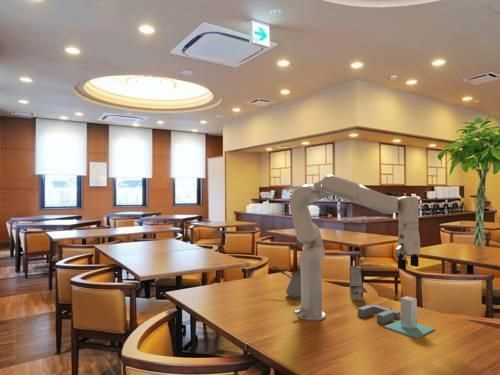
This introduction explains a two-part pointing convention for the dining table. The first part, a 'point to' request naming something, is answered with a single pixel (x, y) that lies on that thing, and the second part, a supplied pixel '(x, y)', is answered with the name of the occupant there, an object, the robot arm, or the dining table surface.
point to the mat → (414, 333)
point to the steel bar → (408, 313)
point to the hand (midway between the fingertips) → (408, 267)
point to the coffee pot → (293, 284)
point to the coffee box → (356, 282)
